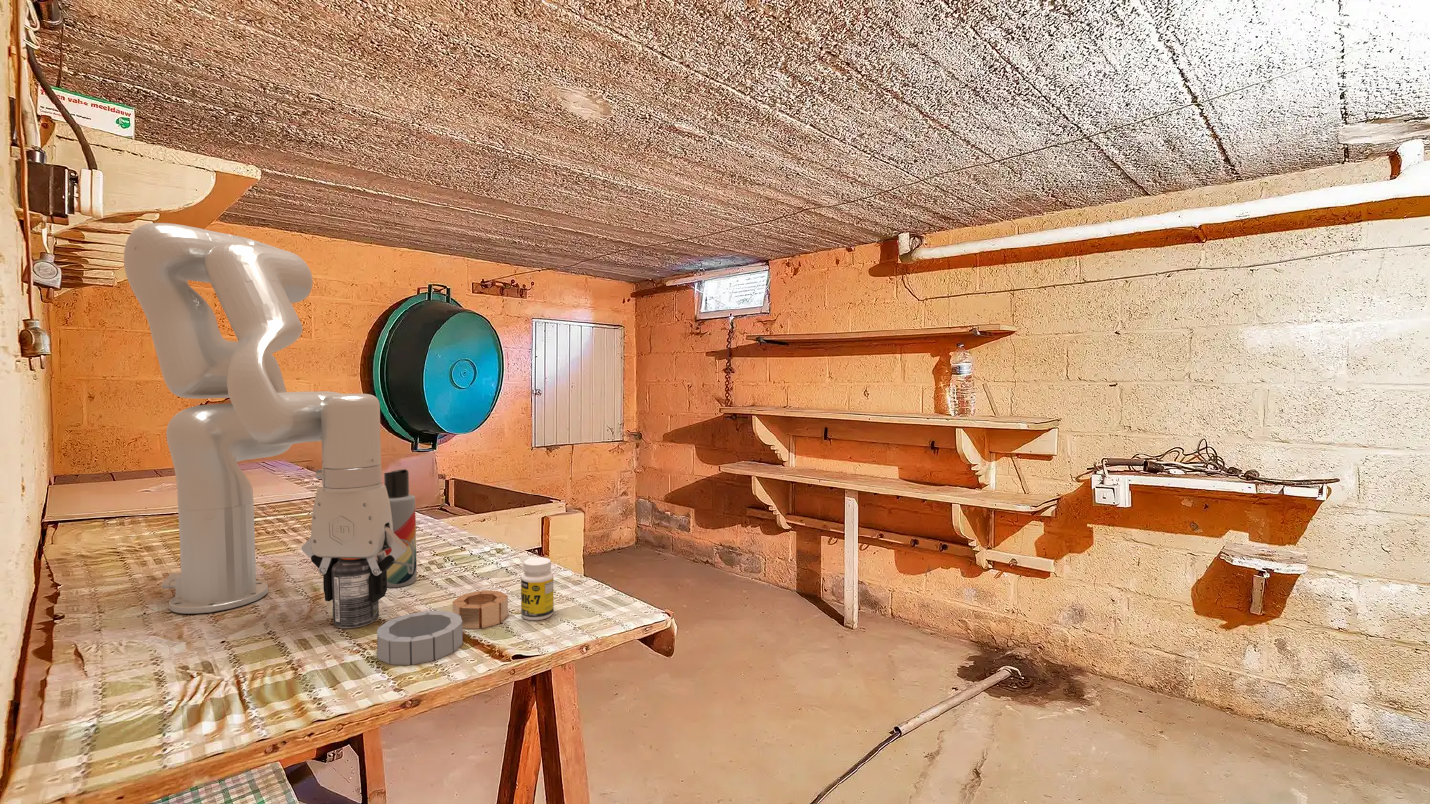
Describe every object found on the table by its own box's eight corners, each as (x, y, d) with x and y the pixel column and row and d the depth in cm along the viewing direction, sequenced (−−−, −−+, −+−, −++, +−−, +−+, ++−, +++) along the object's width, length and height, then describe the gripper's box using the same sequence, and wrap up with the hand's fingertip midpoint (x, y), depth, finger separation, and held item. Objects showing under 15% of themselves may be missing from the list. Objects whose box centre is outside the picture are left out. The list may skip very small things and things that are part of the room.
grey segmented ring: (360, 663, 81) (360, 640, 81) (404, 630, 92) (403, 610, 91) (439, 665, 81) (439, 642, 81) (474, 632, 91) (474, 611, 91)
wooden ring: (445, 628, 92) (445, 607, 92) (467, 609, 100) (467, 590, 100) (495, 629, 92) (494, 609, 92) (513, 610, 99) (513, 591, 99)
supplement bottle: (514, 618, 96) (513, 563, 96) (533, 607, 101) (533, 555, 100) (541, 623, 94) (541, 567, 94) (559, 611, 99) (559, 558, 98)
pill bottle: (352, 612, 98) (350, 539, 98) (387, 615, 97) (386, 541, 97) (323, 628, 92) (321, 550, 92) (360, 630, 91) (358, 552, 91)
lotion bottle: (402, 589, 109) (399, 472, 108) (373, 587, 110) (370, 471, 109) (423, 578, 114) (421, 467, 113) (395, 576, 115) (393, 466, 114)
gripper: (277, 481, 90) (281, 606, 91) (395, 483, 90) (398, 609, 90) (313, 473, 98) (316, 588, 99) (423, 474, 97) (425, 591, 98)
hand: (355, 597), depth 95 cm, fingers closed on pill bottle, 6 cm apart
